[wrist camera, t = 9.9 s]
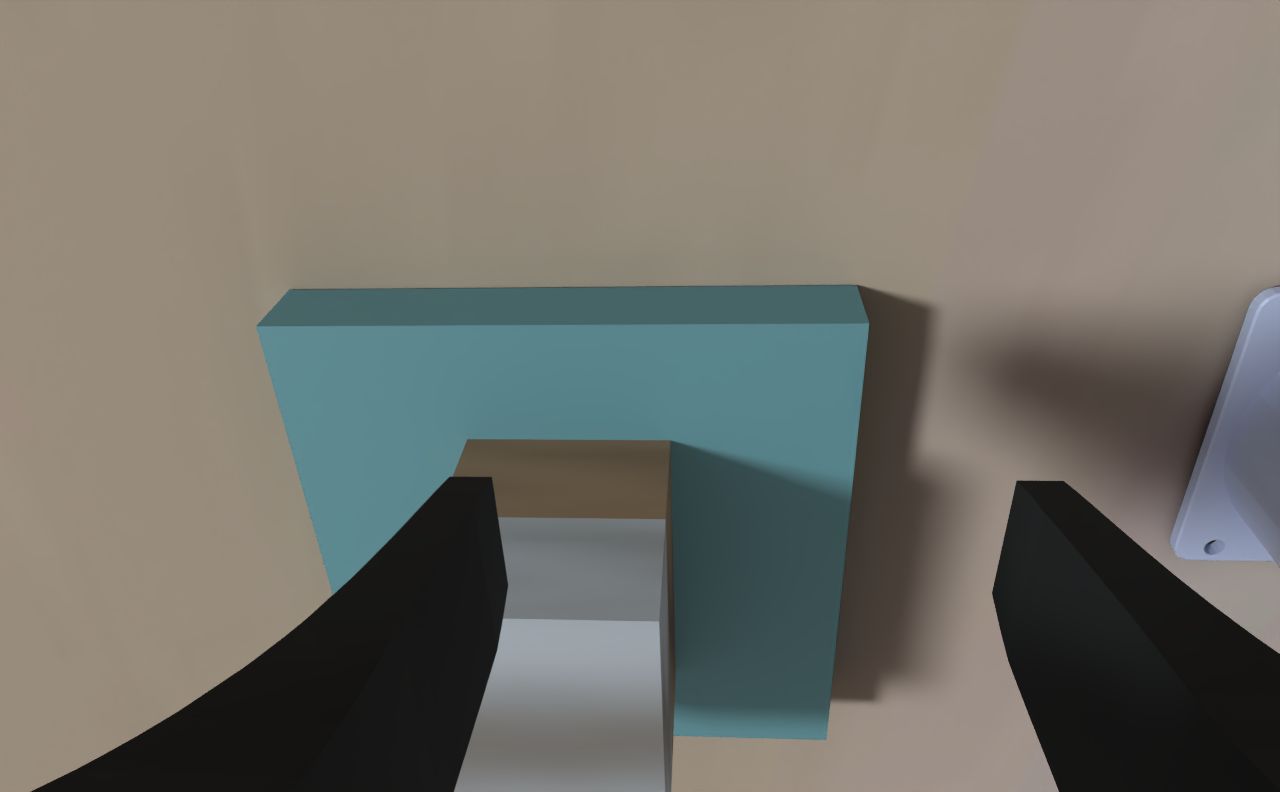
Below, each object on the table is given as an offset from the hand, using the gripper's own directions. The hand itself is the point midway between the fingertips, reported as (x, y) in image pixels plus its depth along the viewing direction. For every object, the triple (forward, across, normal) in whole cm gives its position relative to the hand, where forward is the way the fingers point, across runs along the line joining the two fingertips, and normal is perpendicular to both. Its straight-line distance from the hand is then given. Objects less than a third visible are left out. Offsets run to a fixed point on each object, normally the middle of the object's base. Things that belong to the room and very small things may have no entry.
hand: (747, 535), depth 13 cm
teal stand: (+10, +4, +8) cm, 14 cm away
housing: (+8, +4, +8) cm, 12 cm away
